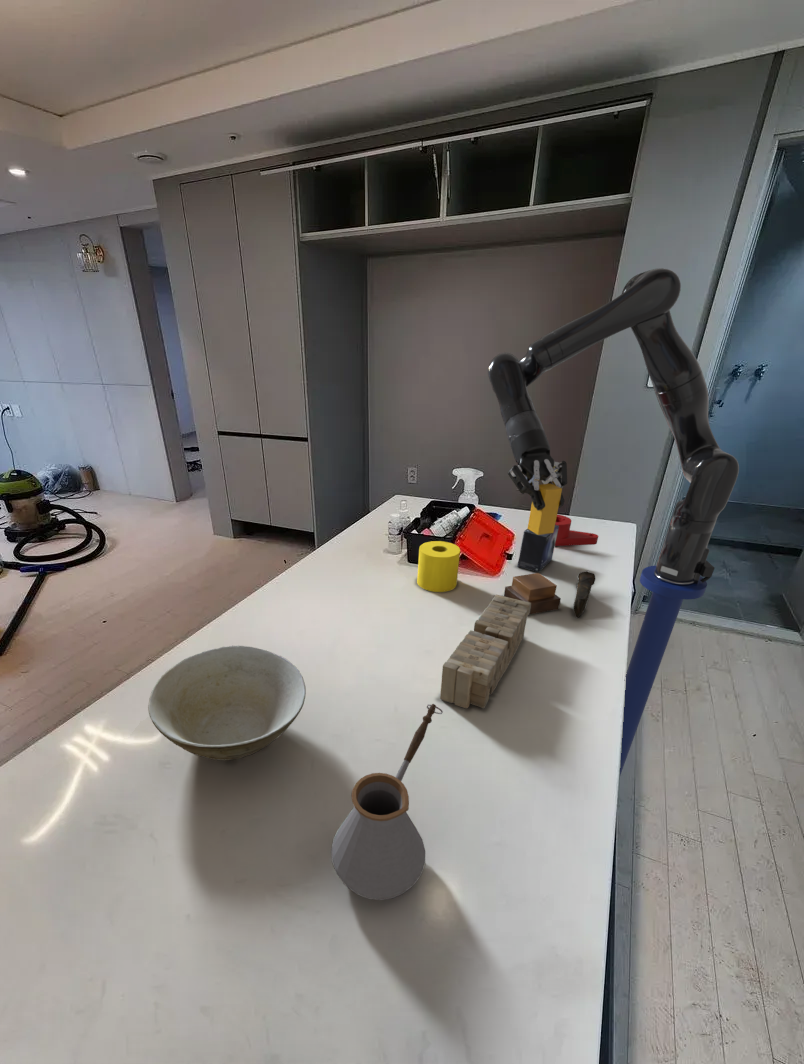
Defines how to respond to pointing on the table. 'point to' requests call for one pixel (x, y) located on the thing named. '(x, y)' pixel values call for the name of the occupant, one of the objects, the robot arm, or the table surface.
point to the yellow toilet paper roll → (438, 566)
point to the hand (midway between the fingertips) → (550, 507)
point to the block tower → (484, 653)
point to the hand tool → (583, 591)
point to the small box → (537, 549)
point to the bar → (545, 510)
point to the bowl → (227, 701)
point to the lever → (572, 534)
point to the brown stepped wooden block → (534, 592)
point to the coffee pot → (381, 833)
